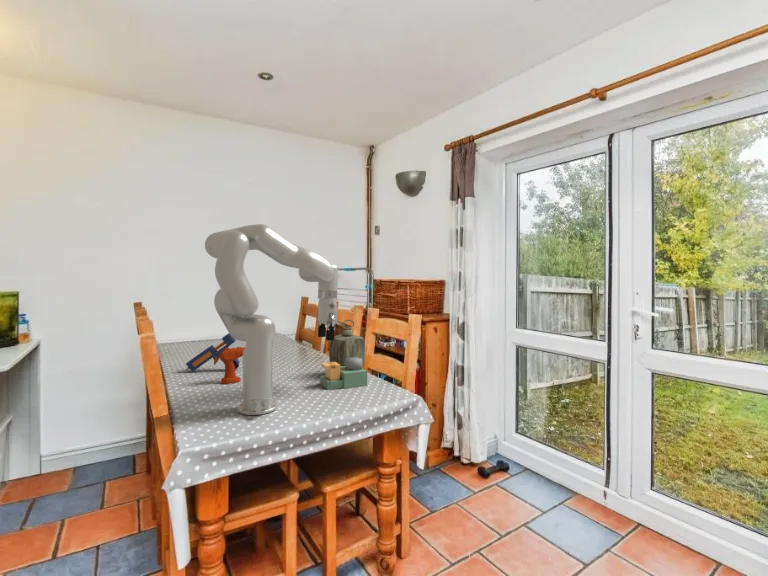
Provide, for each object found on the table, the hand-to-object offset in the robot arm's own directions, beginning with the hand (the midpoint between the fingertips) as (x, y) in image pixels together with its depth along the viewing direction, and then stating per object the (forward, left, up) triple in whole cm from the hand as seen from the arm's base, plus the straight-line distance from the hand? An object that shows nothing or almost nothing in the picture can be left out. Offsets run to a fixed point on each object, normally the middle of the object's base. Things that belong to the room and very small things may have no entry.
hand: (325, 338), depth 158 cm
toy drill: (+26, +28, -20) cm, 43 cm away
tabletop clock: (+15, -16, -20) cm, 30 cm away
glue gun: (+47, +38, -20) cm, 64 cm away
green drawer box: (+3, -8, -20) cm, 22 cm away
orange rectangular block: (+3, -4, -20) cm, 20 cm away
